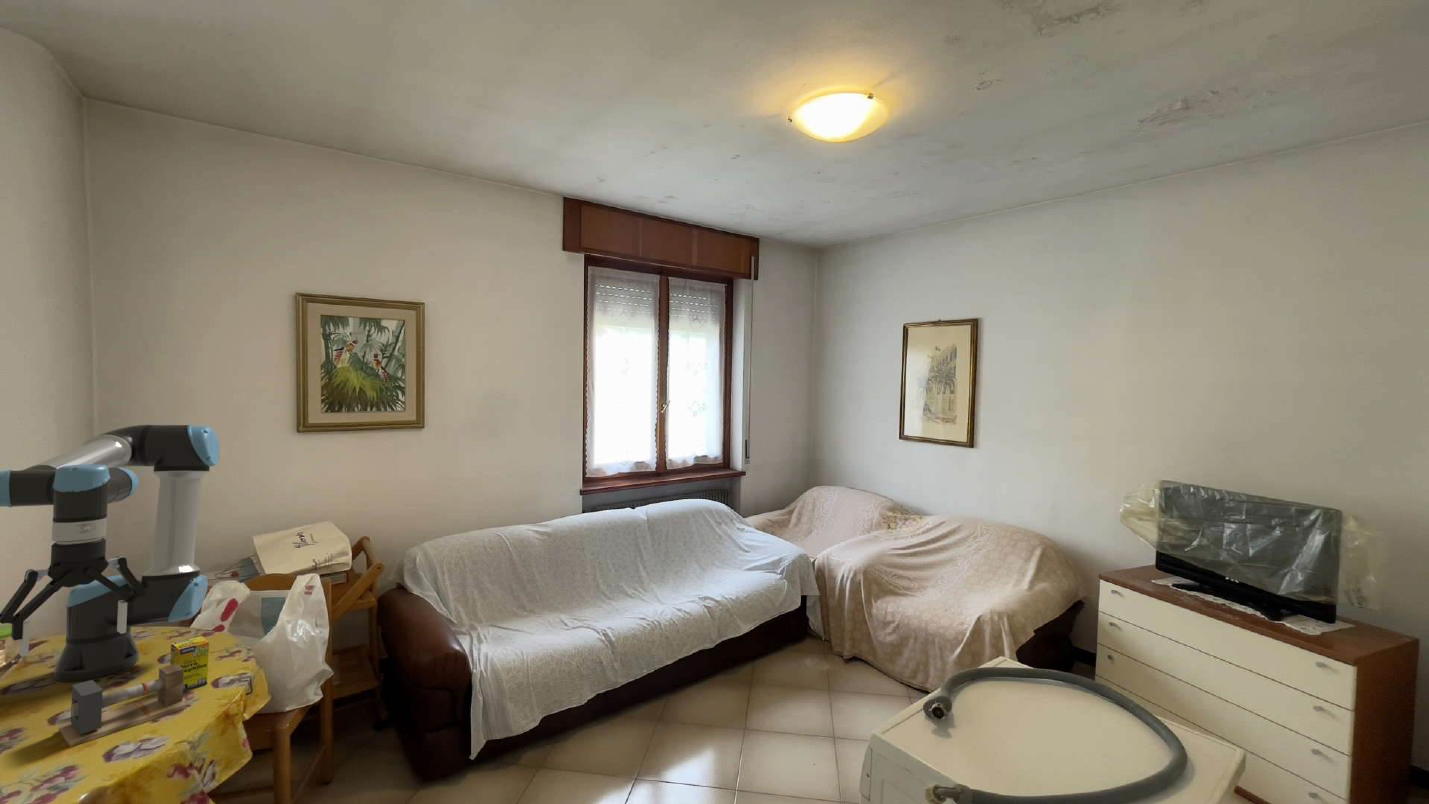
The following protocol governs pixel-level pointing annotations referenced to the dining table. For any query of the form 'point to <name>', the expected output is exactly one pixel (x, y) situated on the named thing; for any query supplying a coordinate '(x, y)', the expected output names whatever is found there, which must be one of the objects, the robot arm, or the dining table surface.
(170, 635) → the dining table surface
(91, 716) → the dark grey flat block
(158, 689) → the pipe rig
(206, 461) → the robot arm
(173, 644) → the supplement box
